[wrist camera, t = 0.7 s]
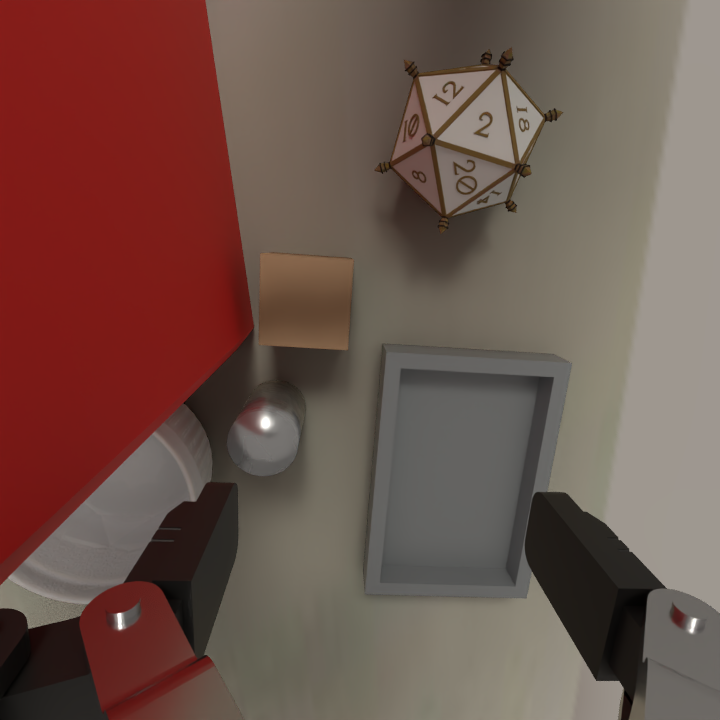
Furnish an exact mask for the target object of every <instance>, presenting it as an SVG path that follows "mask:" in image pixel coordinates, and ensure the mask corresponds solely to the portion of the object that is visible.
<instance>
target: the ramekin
mask: <svg viewBox="0 0 720 720" xmlns="http://www.w3.org/2000/svg"><path fill="white" fill-rule="evenodd" d="M212 466H213V461H212V451H211V448H210V443H209V440H208V438H207V435H206V432H205V430H204V429H203V427H202V425H201V423H200V421H199V420H198V419H197V418H196V416H195V414H194V413H193V412H192V411H191V410H190V409H189V408H188V407H187V406H186V405H185V404H184V403H183V404H182V405H181V406H180V407H179V408H178V409H177V410H176V411H175V412H174V413H173V414H172V415H171V416H170V417H169V418H168V419H167V420H166V421H165V422H164V423H163V424H162V425H161V426H160V427H159V428H158V429H157V430H156V431H155V432H154V433H153V434H152V435H151V436H150V437H149V438H148V439H147V440H146V441H145V442H144V443H143V444H142V445H141V446H140V447H139V448H138V449H137V450H136V451H134V452H133V453H132V454H131V455H130V456H129V457H128V458H127V459H126V460H125V461H124V462H123V463H122V464H121V465H120V466H119V467H118V468H117V469H116V470H115V471H114V472H113V473H112V474H111V475H110V476H109V477H108V478H107V479H106V480H105V481H104V482H103V483H102V484H101V485H100V486H99V487H98V488H97V489H96V490H95V491H94V492H93V493H92V494H91V495H90V496H89V497H88V498H87V499H86V500H85V501H84V502H83V503H82V504H81V505H80V506H79V507H78V508H77V509H76V510H75V511H74V512H73V513H72V514H71V515H70V516H69V517H68V518H67V519H66V520H65V521H64V522H63V523H62V524H61V525H60V526H59V527H58V528H57V529H56V530H55V531H54V532H53V533H52V534H51V535H50V536H49V537H48V538H47V539H46V540H45V541H44V542H43V543H42V544H41V545H40V546H39V547H38V548H37V549H36V550H35V551H34V552H33V553H32V554H31V555H30V556H29V557H28V558H27V559H26V560H25V561H24V562H23V563H22V564H21V565H20V566H19V567H18V568H17V569H16V570H15V571H14V572H13V573H12V574H11V575H10V576H9V577H8V579H9V580H10V581H12V582H14V583H15V584H17V585H19V586H21V587H23V588H24V589H26V590H28V591H30V592H33V593H35V594H38V595H40V596H43V597H46V598H49V599H53V600H56V601H62V602H66V603H73V604H85V605H88V604H89V603H90V602H91V601H92V600H93V599H94V598H95V597H96V596H98V595H99V594H101V593H102V592H104V591H106V590H107V589H110V588H112V587H114V586H117V585H120V584H123V583H124V581H125V579H126V578H127V576H128V575H129V573H130V572H131V570H132V568H133V567H134V565H135V564H136V562H137V561H138V559H139V557H140V556H141V554H142V553H143V551H144V550H145V548H146V546H147V545H148V543H149V542H151V539H152V537H153V535H154V534H155V532H156V531H157V530H158V529H159V526H160V524H161V523H162V521H163V520H164V518H165V517H166V515H167V513H168V512H170V511H171V510H173V509H174V508H175V507H177V506H178V505H179V504H181V503H182V502H183V501H193V502H196V501H197V499H198V497H199V495H200V493H201V492H202V490H203V488H204V486H205V484H206V483H207V482H210V481H211V477H212Z"/></svg>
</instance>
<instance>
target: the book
mask: <svg viewBox="0 0 720 720" xmlns="http://www.w3.org/2000/svg"><path fill="white" fill-rule="evenodd" d="M253 328H254V324H253V317H252V310H251V304H250V297H249V290H248V284H247V277H246V270H245V263H244V257H243V250H242V243H241V237H240V230H239V223H238V217H237V210H236V203H235V197H234V190H233V183H232V176H231V170H230V163H229V156H228V150H227V143H226V136H225V130H224V123H223V116H222V110H221V103H220V96H219V90H218V83H217V76H216V69H215V63H214V56H213V49H212V43H211V36H210V29H209V23H208V16H207V9H206V3H205V0H0V585H1V584H2V583H3V582H4V581H5V580H6V579H7V578H8V577H9V576H10V575H11V574H12V573H13V572H14V571H15V570H16V569H17V568H18V567H19V566H20V565H21V564H22V563H23V562H24V561H25V560H26V559H27V558H28V557H29V556H30V555H31V554H32V553H33V552H34V551H35V550H36V549H37V548H38V547H39V546H40V545H41V544H42V543H43V542H44V541H45V540H46V539H47V538H48V537H49V536H50V535H51V534H52V533H53V532H54V531H55V530H56V529H57V528H58V527H59V526H60V525H61V524H62V523H63V522H64V521H65V520H66V519H67V518H68V517H69V516H70V515H71V514H72V513H73V512H74V511H75V510H76V509H77V508H78V507H79V506H80V505H81V504H82V503H83V502H84V501H85V500H86V499H87V498H88V497H89V496H90V495H91V494H92V493H93V492H94V491H95V490H96V489H97V488H98V487H99V486H100V485H101V484H102V483H103V482H104V481H105V480H106V479H107V478H108V477H109V476H110V475H111V474H112V473H113V472H114V471H115V470H116V469H117V468H118V467H119V466H120V465H121V464H122V463H123V462H124V461H125V460H126V459H127V458H128V457H129V456H130V455H131V454H132V453H133V452H134V451H136V450H137V449H138V448H139V447H140V446H141V445H142V444H143V443H144V442H145V441H146V440H147V439H148V438H149V437H150V436H151V435H152V434H153V433H154V432H155V431H156V430H157V429H158V428H159V427H160V426H161V425H162V424H163V423H164V422H165V421H166V420H167V419H168V418H169V417H170V416H171V415H172V414H173V413H174V412H175V411H176V410H177V409H178V408H179V407H180V406H181V405H182V404H183V403H184V402H185V401H186V400H187V399H188V398H189V397H190V396H191V395H192V394H193V393H194V392H195V391H196V390H197V389H198V388H199V387H200V386H201V385H202V384H203V383H204V382H205V381H206V380H207V379H208V378H209V377H210V376H211V375H212V374H213V373H214V372H215V371H216V370H217V369H218V368H219V367H220V366H221V365H222V364H223V363H224V362H225V361H226V360H227V359H228V358H229V357H230V356H231V355H232V354H233V353H234V352H235V351H236V350H237V349H238V347H239V346H240V345H241V344H242V342H243V341H244V340H245V338H246V337H247V336H248V335H249V333H250V332H251V331H252V329H253Z"/></svg>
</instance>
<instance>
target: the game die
mask: <svg viewBox="0 0 720 720" xmlns="http://www.w3.org/2000/svg"><path fill="white" fill-rule="evenodd" d="M481 57H482V59H481V64H482V65H475V66H467V67H460V68H453V69H446V70H439V71H431V72H424V73H418V71H417V66H415V65H414V62H410V61H406V60H404V63H405V68H406V70H405V71H407V72H408V73H409V74H408V75H411V76H412V77H413V82H412V86H411V89H410V93H409V96H408V100H407V103H406V107H405V110H404V114H403V117H402V121H401V125H400V128H399V132H398V135H397V139H396V142H395V146H394V149H393V153H392V156H391V160H390V162H389V163H385V162H384V163H380V164H379V165H378V166H377V168H376V169H375V171H378V172H381V173H382V174H383V172H385V171H386V172H387V170H389V169H392V170H393V171H394V172H395V173H396V174H397V175H398V176H399V177H400V178H401V179H403V180H404V181H405V182H406V183H407V184H408V185H409V186H410V187H411V188H412V189H413V190H414V191H415V192H416V193H417V194H418V195H419V196H420V197H421V198H422V199H423V200H425V201H426V202H427V203H428V204H429V205H430V206H431V207H432V208H433V209H434V210H435V211H436V212H437V213H438V214H439V215H440V216H441V217H442V219H441V220H440V221H439V225H438V228H439V230H440V234H442V233H443V232H444V231H445V230H446V229H448V227H447V226H448V224H449V223H448V218H451V217H455V216H458V215H462V214H466V213H469V212H473V211H477V210H480V209H484V208H488V207H491V206H495V205H499V204H502V203H505V204H506V208H507V209H508V211H511V212H515V213H516V206H517V205H516V204H514V202H513V201H511V200H510V198H511V196H512V194H513V191H514V189H515V187H516V185H517V183H518V180H519V178H520V176H523V177H524V178H525V177H526V176H528V175H530V174H531V170H530V165H526V163H527V160H528V158H529V156H530V154H531V152H532V149H533V147H534V145H535V143H536V141H537V138H538V136H539V134H540V132H541V129H542V127H543V125H544V123H545V122H546V121H550V122H552V120H557V118H558V117H559V116H560V115H561V114H562V113H563V112H561V111H558V110H556V109H555V108H554V110H552V111H551V110H549V112H548V113H546V114H543V112H542V111H541V110H540V109H539V108H538V107H537V105H536V104H535V103H534V102H533V101H532V99H531V98H530V97H529V96H528V95H527V94H526V92H525V91H524V90H523V89H522V88H521V86H520V85H519V84H518V83H517V82H516V81H515V79H514V78H513V77H512V76H511V75H510V73H509V72H508V71H507V70H506V68H507V67H508V66H510V65H511V64H510V62H511V61H513V60H514V59H513V56H512V47H511V48H510V49H509V50H507V51H506V52H505V51H504V52H503V54H502V55H501V59H500V60H499V62H500V63H499V65H489V64H490V61H491V59H492V54H491V53H490V50H488V51H487V52H485V53H484V54H483V55H482V56H481Z"/></svg>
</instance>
